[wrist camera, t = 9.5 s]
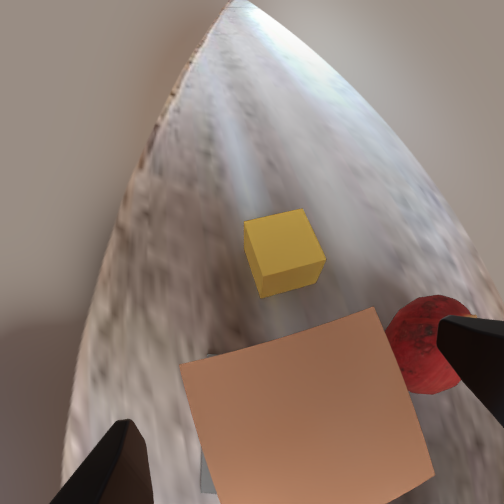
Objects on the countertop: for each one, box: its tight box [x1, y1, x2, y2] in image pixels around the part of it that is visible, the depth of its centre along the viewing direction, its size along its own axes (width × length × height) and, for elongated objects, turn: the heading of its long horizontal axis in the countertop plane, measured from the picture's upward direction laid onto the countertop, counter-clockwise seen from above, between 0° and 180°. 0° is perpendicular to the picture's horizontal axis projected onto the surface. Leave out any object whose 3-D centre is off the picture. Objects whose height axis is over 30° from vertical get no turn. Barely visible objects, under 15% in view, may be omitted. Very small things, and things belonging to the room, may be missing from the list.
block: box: [244, 208, 326, 299], centre depth 21 cm, size 4×4×4 cm
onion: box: [385, 295, 477, 394], centre depth 15 cm, size 6×6×8 cm
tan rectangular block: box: [179, 306, 435, 504], centre depth 12 cm, size 6×6×10 cm
